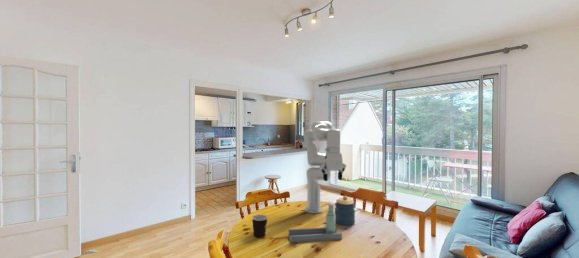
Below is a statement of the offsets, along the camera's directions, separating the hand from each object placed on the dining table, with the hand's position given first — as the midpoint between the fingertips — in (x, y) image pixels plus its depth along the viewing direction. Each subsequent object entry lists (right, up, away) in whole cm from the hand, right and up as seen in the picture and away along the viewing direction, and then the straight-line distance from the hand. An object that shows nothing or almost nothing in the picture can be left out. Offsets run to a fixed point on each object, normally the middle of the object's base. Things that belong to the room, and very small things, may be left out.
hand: (332, 180), depth 136 cm
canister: (+11, -32, +17) cm, 37 cm away
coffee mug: (-41, -31, -1) cm, 51 cm away
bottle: (-2, -30, -4) cm, 31 cm away
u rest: (-11, -31, -5) cm, 33 cm away
